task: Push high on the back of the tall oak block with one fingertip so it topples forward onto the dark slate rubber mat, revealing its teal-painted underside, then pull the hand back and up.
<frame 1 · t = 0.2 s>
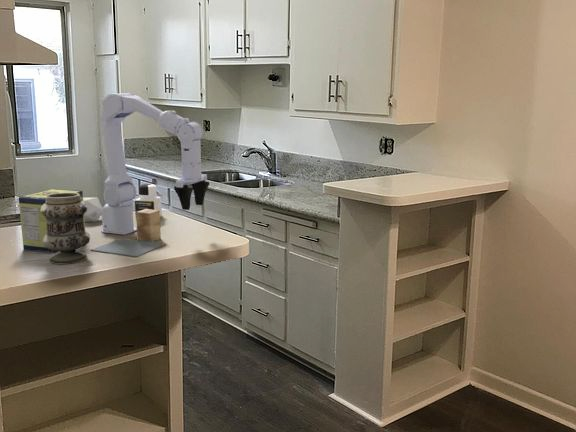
hand: (192, 207, 182), 10 cm above the table, tool pointing down, fingers open, 7 cm apart
die: (90, 221, 208), on the table
slate mat: (128, 247, 174), on the table
protein box: (55, 245, 177), on the table
apothecary jar: (68, 259, 163), on the table
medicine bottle: (149, 218, 213), on the table
oak block: (149, 239, 183), on the table
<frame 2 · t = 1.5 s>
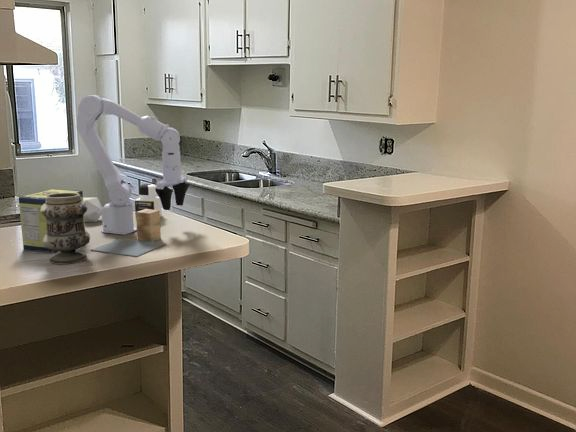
hand: (173, 207, 194), 7 cm above the table, tool pointing down, fingers open, 7 cm apart
nothing on the table moved.
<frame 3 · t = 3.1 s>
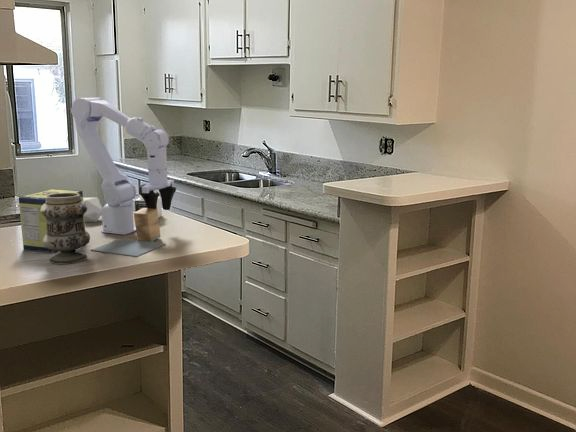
hand: (159, 212, 187), 7 cm above the table, tool pointing down, fingers open, 7 cm apart
oak block: (149, 238, 183), on the table, tilted 7°
everything else where it was.
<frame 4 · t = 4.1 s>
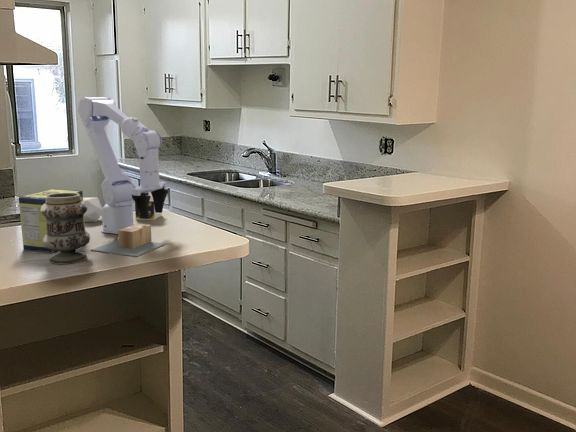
hand: (151, 214, 183), 7 cm above the table, tool pointing down, fingers open, 7 cm apart
oak block: (144, 232, 181), point 3 cm above the table, tilted 90°, touching slate mat
everything else where it was.
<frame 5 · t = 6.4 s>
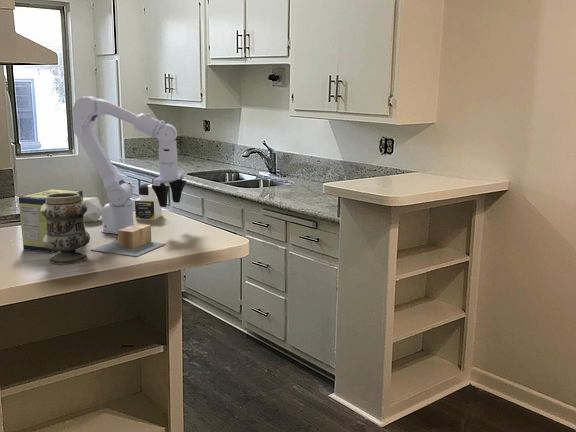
hand: (169, 204, 192), 9 cm above the table, tool pointing down, fingers open, 7 cm apart
nothing on the table moved.
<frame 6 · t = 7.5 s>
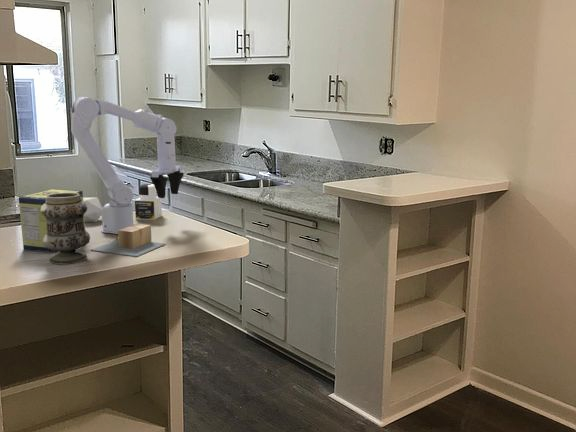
hand: (168, 195, 198), 10 cm above the table, tool pointing down, fingers open, 7 cm apart
nothing on the table moved.
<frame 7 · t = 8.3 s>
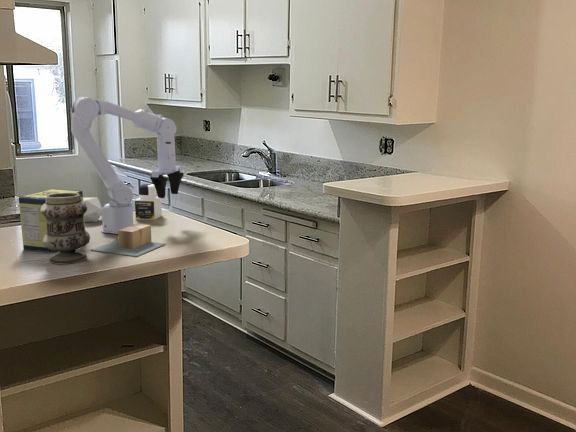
hand: (168, 195, 198), 10 cm above the table, tool pointing down, fingers open, 7 cm apart
nothing on the table moved.
at the end: oak block tilted 90°; oak block inside the target area (2.7 cm from its centre), point 2.8 cm above the table; oak block touching slate mat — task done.
